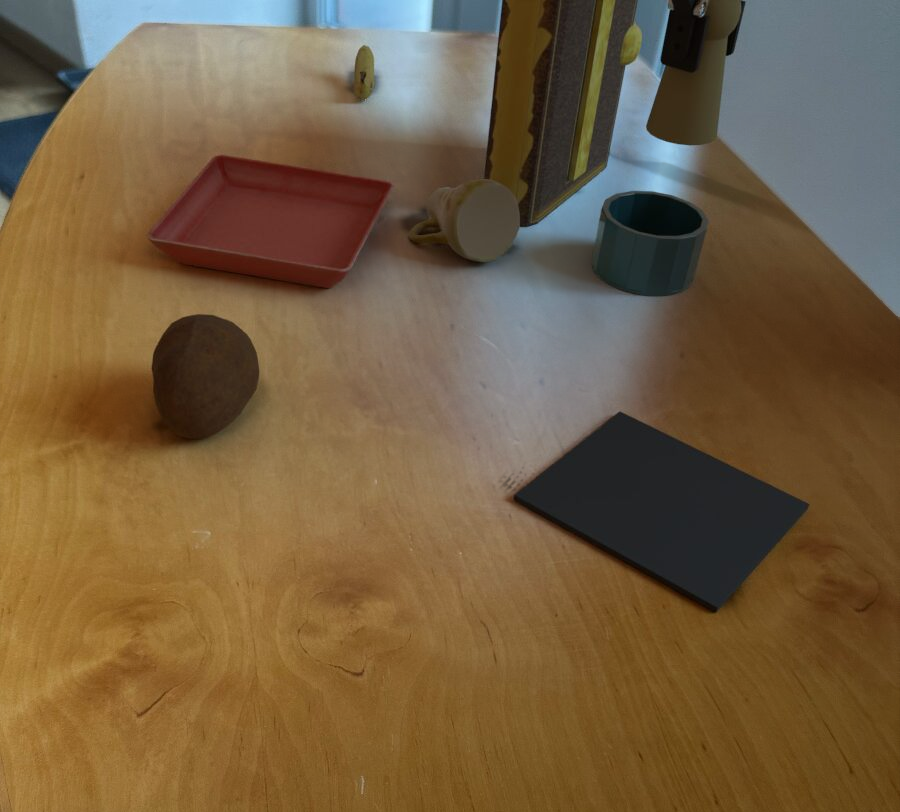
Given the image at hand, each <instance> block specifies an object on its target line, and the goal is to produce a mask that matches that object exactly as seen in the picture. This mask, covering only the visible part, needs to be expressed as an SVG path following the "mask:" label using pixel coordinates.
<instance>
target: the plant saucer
mask: <svg viewBox="0 0 900 812" xmlns="http://www.w3.org/2000/svg"><path fill="white" fill-rule="evenodd" d="M394 187H395V184H394V183H392V182H391V181H387V180H382V179H375V178H369V177H364V176H358V175H357V176H356V175H351V174H344V173H340V172H339V173H338V172H332V171H326V170H321V169H315V168H308V167H301V166H296V165H291V164H284V163H277V162H271V161H264V160H259V159H253V158H245V157H240V156H232V155H226V154H218V155H215V156H212V158H210V159H209V161H208V162H207V163H206V165H205V166H204V167H203V168H202V169H201V171H199V173H198V174H197V175H196V176H195V177H194V178H193V180H192V181H191V182H190V183H189V184H188V185H187V187H186V188H185V189H184V190H183V191H182V192H181V194H180V195H179V196H178V197H177V198H176V199H175V201H174V202H173V203H172V204H170V207H169V208H168V209H167V210H166V211H165V212H164V214H163V215H162V216H161V217H160V218H159V219H158V221H156V223H155V224H154V225H153V226H152V227H151V228H150V229H149V231H148V232H147V234H146V237H147V240H148V241H150V242H151V243H152V244H153V245H154V246H155V247H156V248H158V250H160V251H161V252H163V253H164V254H166V255H167V256H168V257H169V258H171V259H173V260H174V261H176V262H177V263H180V264H182V265H186V266H192V265H193V267H198V268H204V269H205V268H206V269H211V270H217V271H224V272H230V273H235V274H242V275H248V276H255V277H260V278H264V279H265V278H266V279H272V280H276V281H283V282H289V283H294V284H300V285H307V286H313V287H319V288H325V289H331V288H334V287H336V286H337V285H338V284H339V283H341V282H342V281H343V280H344V279H345V278H346V277H347V275H348V274H349V272H350V271H351V269H352V267H353V265H354V263H355V262H356V260H357V258H358V256H359V254H360V253H361V252H360V251H361V250H362V248H363V246H364V244H365V242H366V241H367V239H368V237H369V235H370V233H371V231H372V229H373V227H374V225H375V223H376V221H377V219H378V218H379V216H380V214H381V213H382V210H383V208H384V206H385V204H386V203H387V201H388V199H389V197H390V195H391V194H392V191H393V189H394Z"/></svg>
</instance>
